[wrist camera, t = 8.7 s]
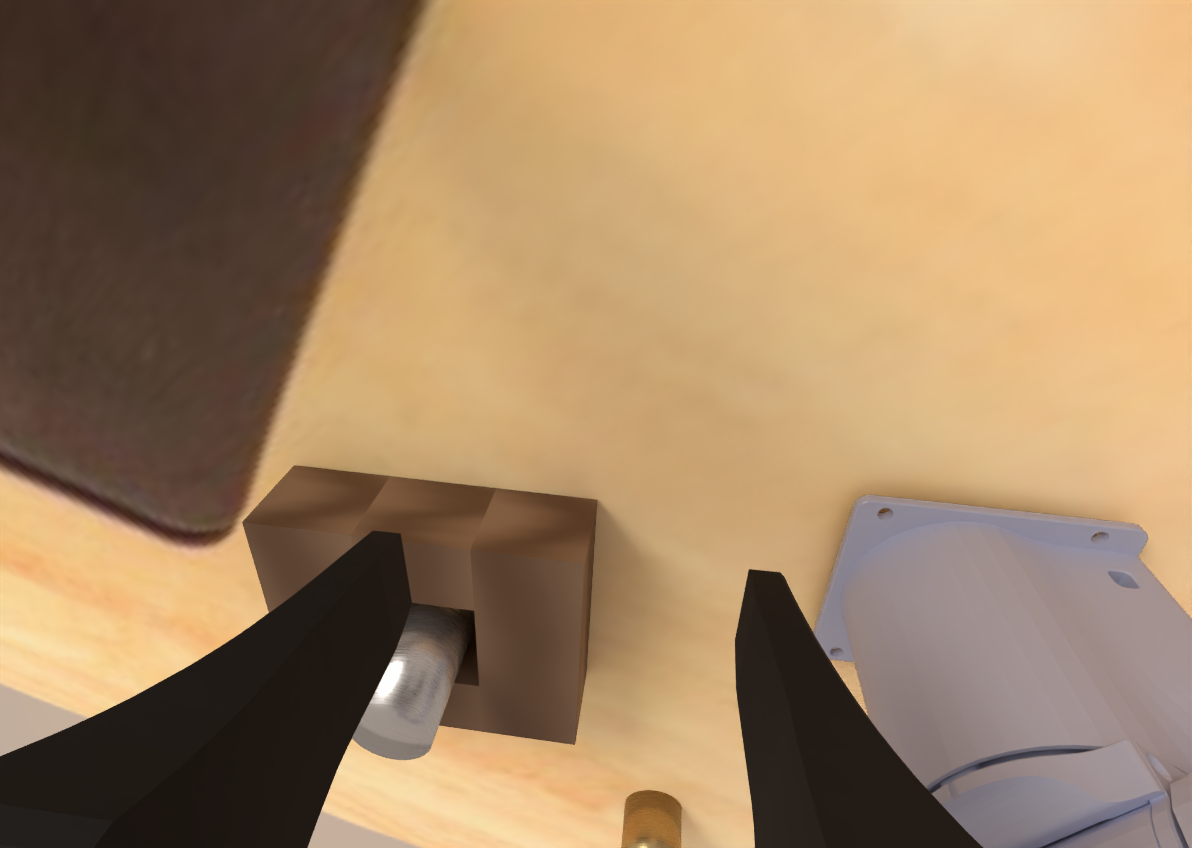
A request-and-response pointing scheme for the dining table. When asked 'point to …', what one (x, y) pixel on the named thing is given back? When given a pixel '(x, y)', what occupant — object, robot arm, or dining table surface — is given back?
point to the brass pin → (651, 821)
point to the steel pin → (416, 683)
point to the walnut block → (457, 580)
